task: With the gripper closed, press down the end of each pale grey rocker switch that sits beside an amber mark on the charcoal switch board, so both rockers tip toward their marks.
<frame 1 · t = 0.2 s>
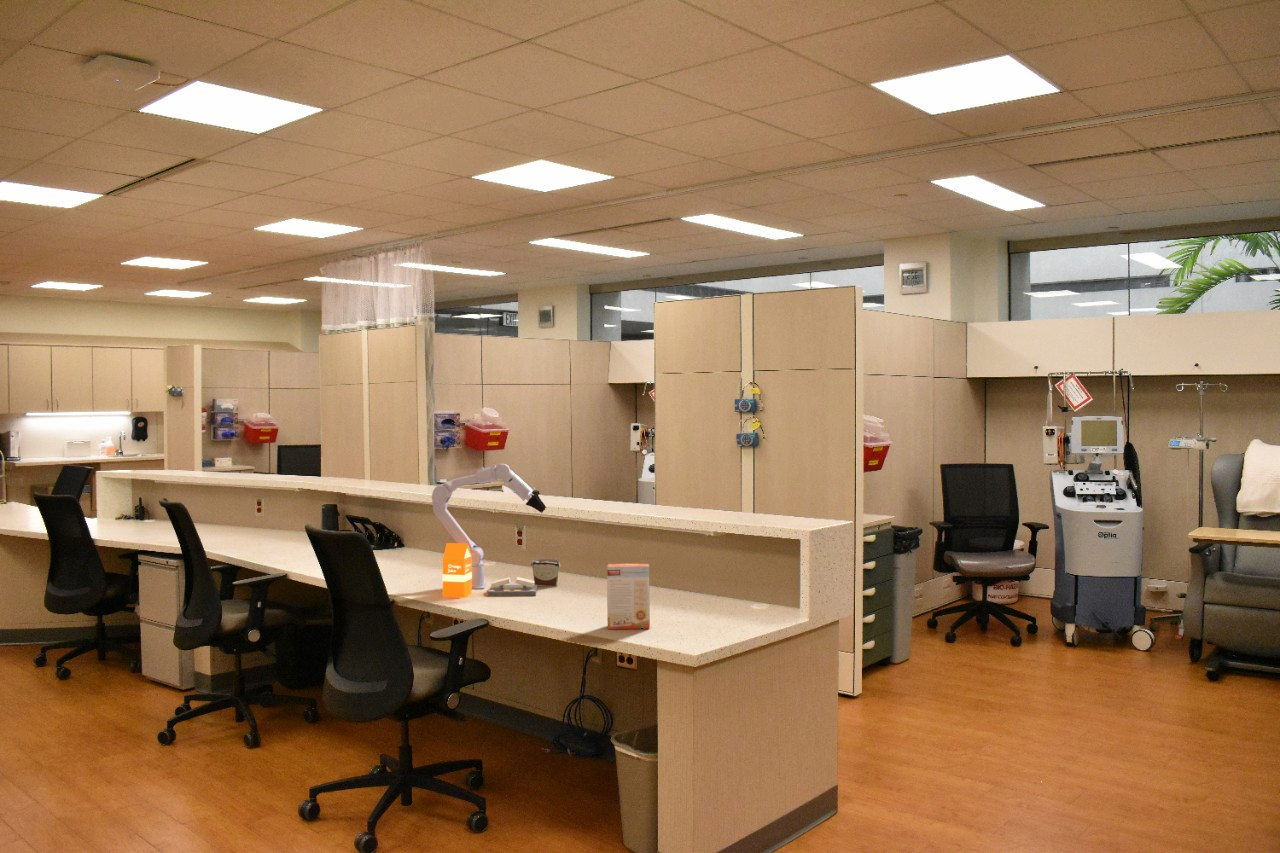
hand: (544, 510, 382), 31 cm above the table, tool tilted 45°, fingers open, 7 cm apart
cracker box: (628, 628, 316), on the table
switch board: (513, 592, 373), on the table
orange juice: (457, 595, 367), on the table
rocker 2: (525, 582, 373), point 4 cm above the table, hinge at 14.0°
rocker 1: (500, 582, 372), point 4 cm above the table, hinge at -14.0°
food container: (547, 585, 388), on the table
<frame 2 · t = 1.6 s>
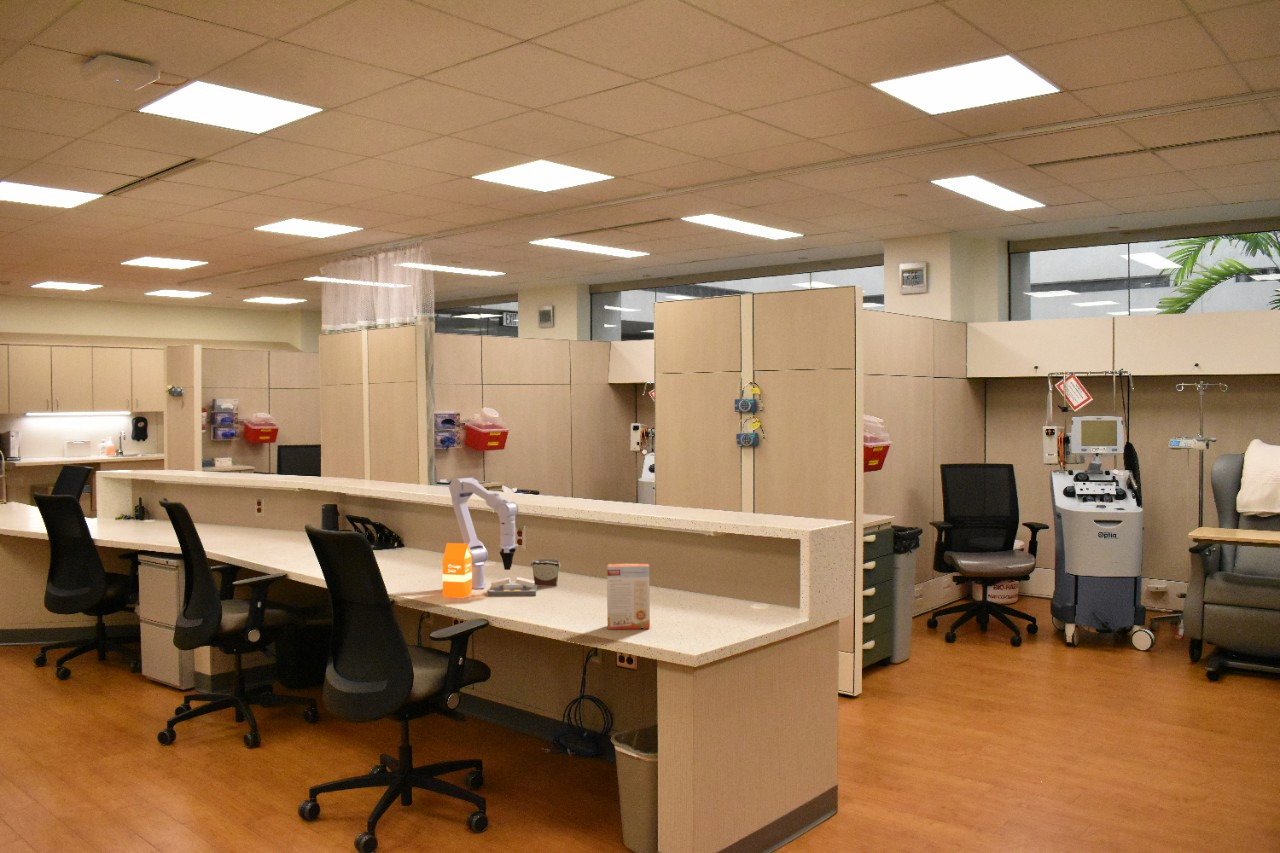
hand: (507, 568, 372), 9 cm above the table, tool pointing down, fingers open, 5 cm apart
nothing on the table moved.
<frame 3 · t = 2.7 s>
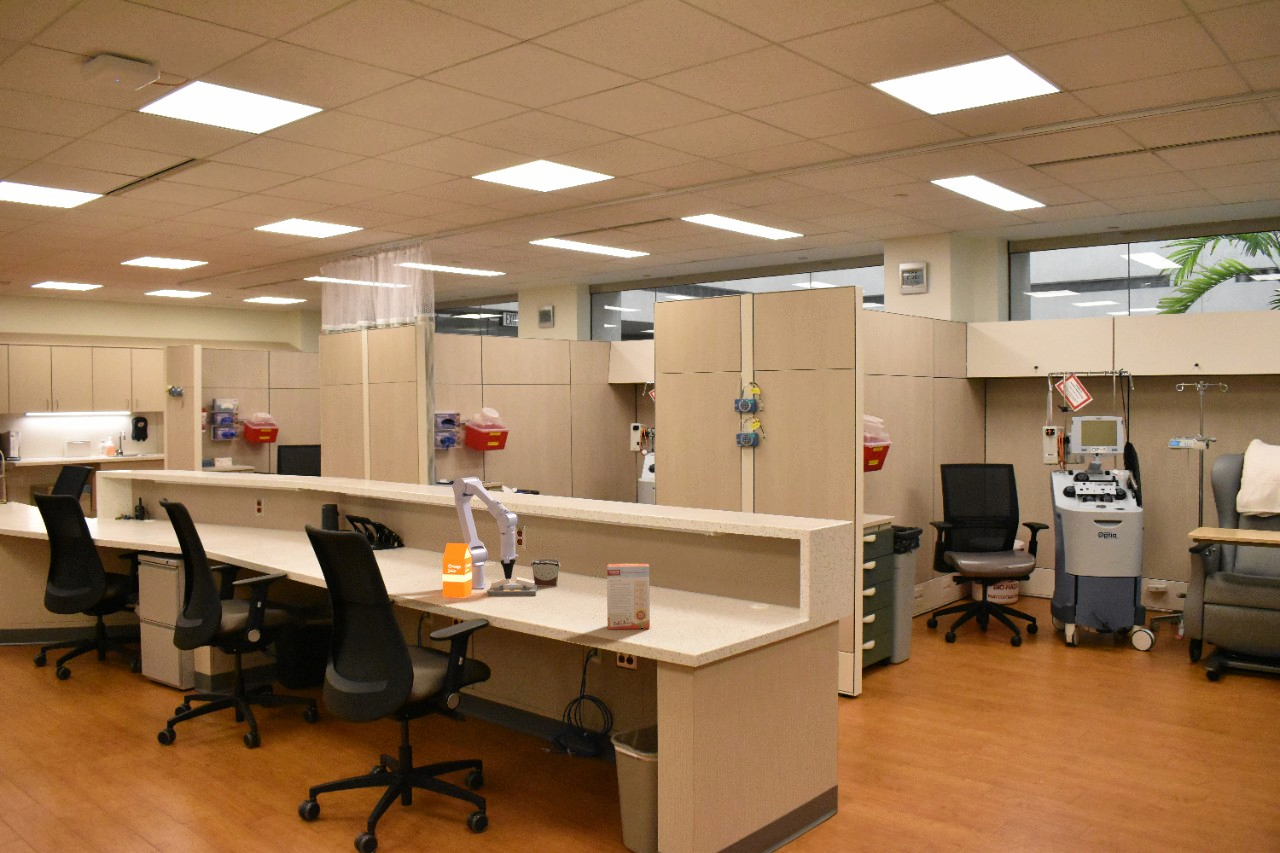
hand: (508, 578, 372), 5 cm above the table, tool pointing down, fingers closed, pressing on rocker 1
rocker 1: (500, 582, 372), point 4 cm above the table, hinge at -13.8°, touching gripper
everything else where it was.
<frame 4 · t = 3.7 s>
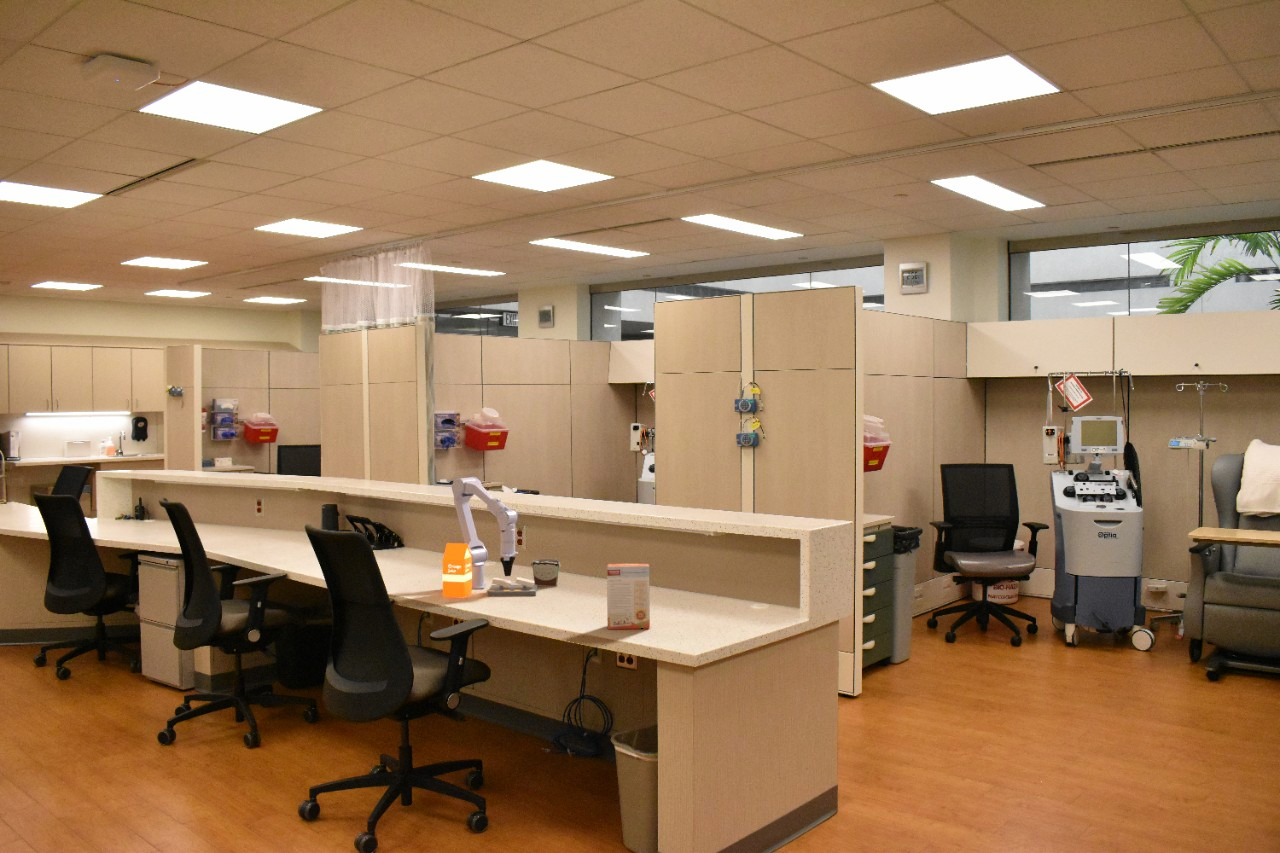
hand: (507, 575, 372), 6 cm above the table, tool pointing down, fingers closed
rocker 1: (501, 582, 372), point 4 cm above the table, hinge at 13.2°
everything else where it was.
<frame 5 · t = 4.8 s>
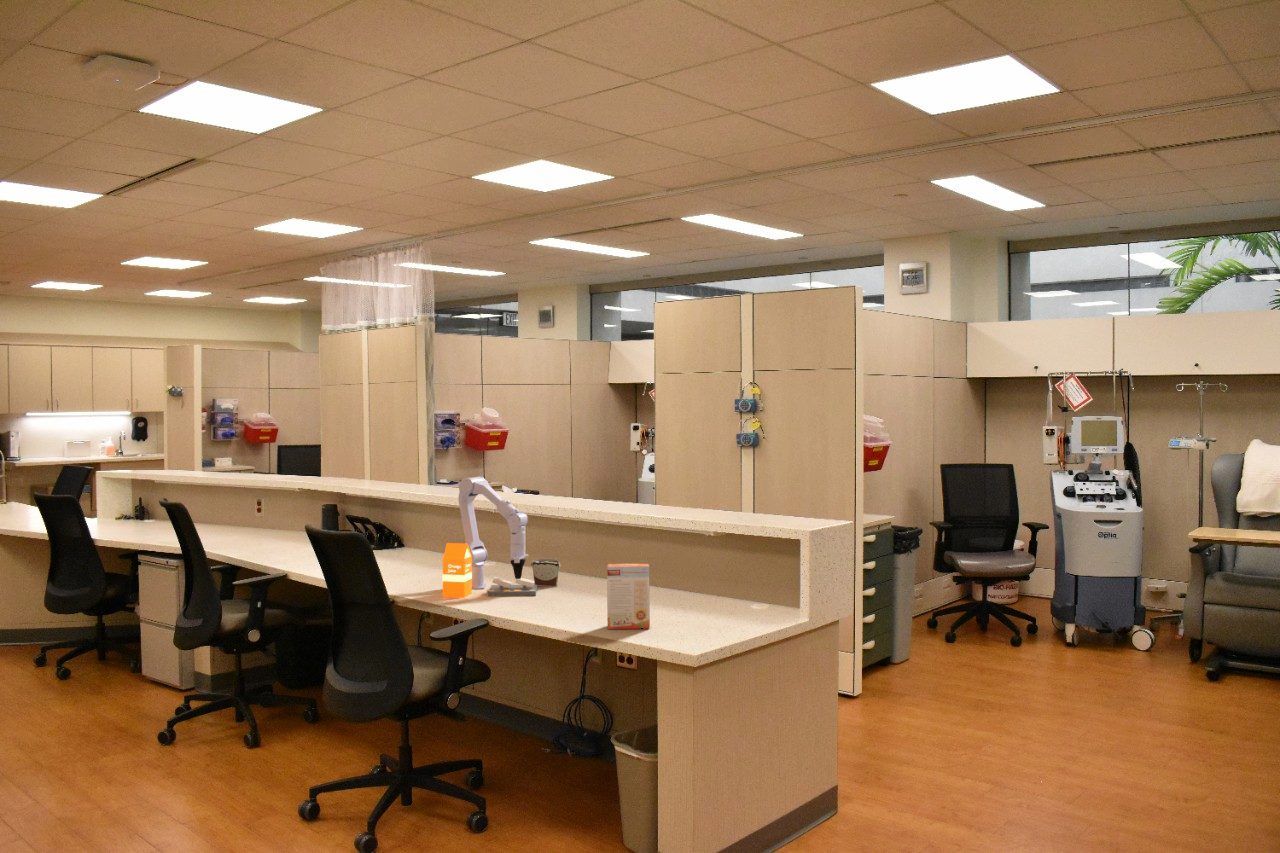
hand: (518, 578, 372), 5 cm above the table, tool pointing down, fingers closed, pressing on rocker 2
rocker 2: (525, 582, 373), point 4 cm above the table, hinge at 13.9°, touching gripper
rocker 1: (502, 582, 372), point 4 cm above the table, hinge at 19.4°
everything else where it was.
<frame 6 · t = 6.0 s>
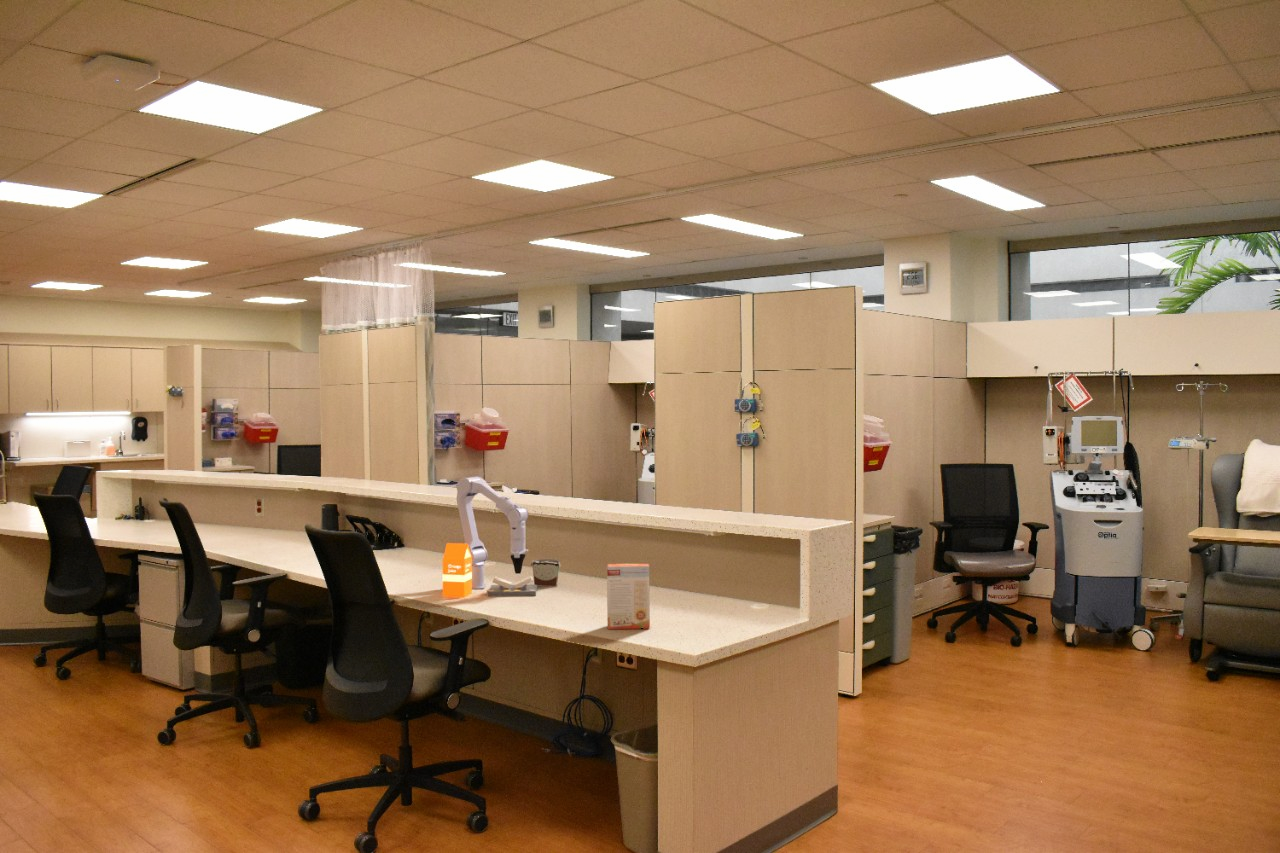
hand: (518, 573, 373), 7 cm above the table, tool pointing down, fingers closed
rocker 2: (523, 582, 373), point 4 cm above the table, hinge at -24.4°
rocker 1: (502, 582, 372), point 4 cm above the table, hinge at 21.0°
everything else where it was.
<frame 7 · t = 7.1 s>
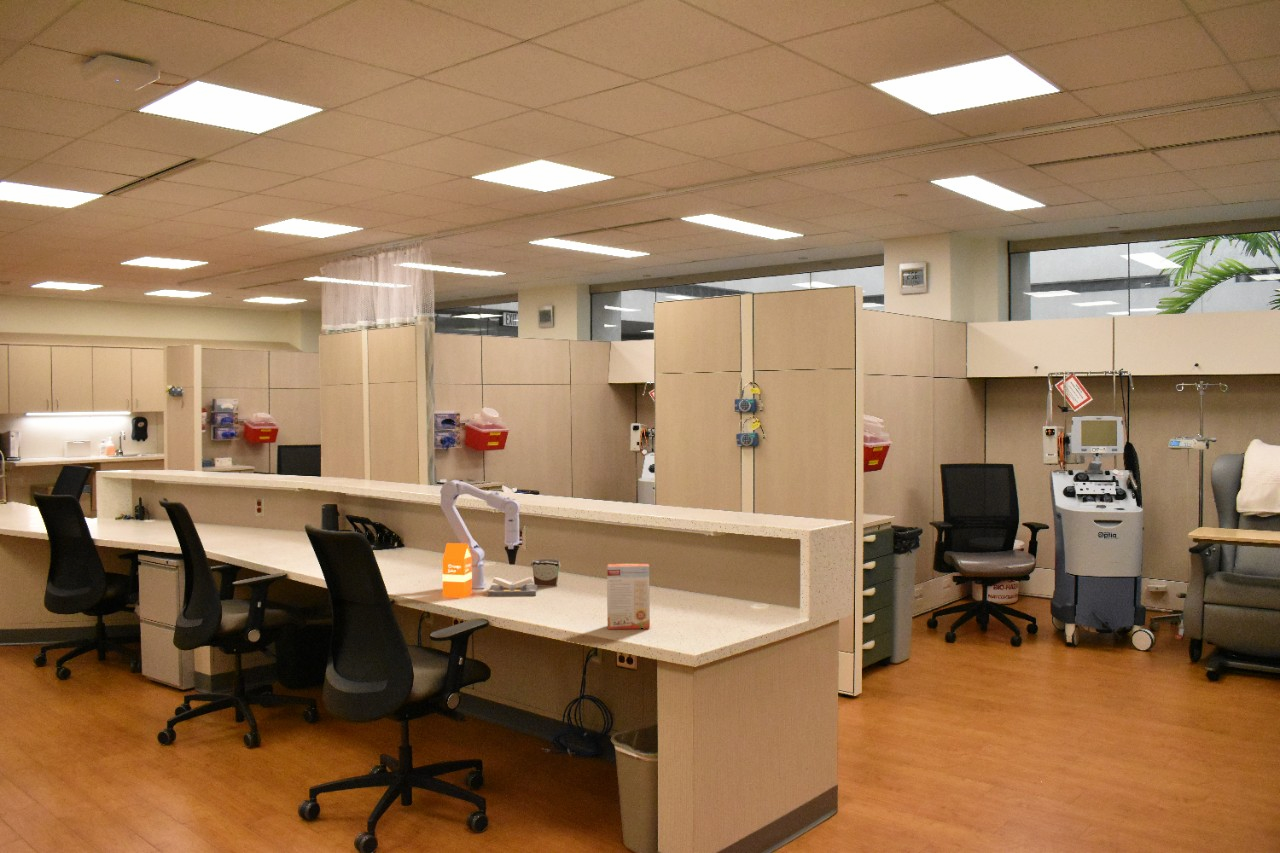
hand: (512, 564, 381), 9 cm above the table, tool pointing down, fingers closed
rocker 2: (524, 582, 373), point 4 cm above the table, hinge at -19.0°
rocker 1: (502, 582, 372), point 4 cm above the table, hinge at 21.3°
everything else where it was.
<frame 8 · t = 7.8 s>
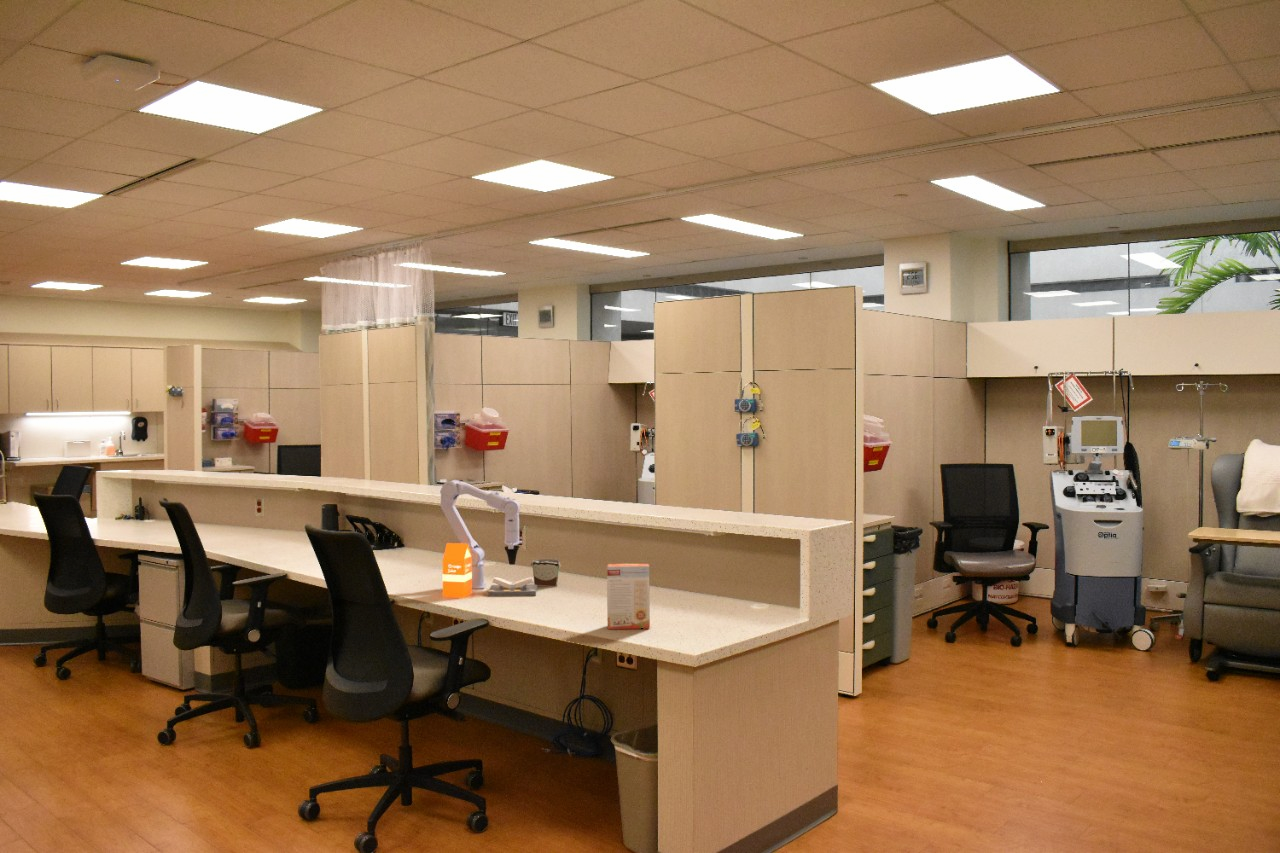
hand: (512, 564, 381), 9 cm above the table, tool pointing down, fingers closed
rocker 2: (524, 582, 373), point 4 cm above the table, hinge at -18.0°
everything else where it was.
at the end: rocker 1 at +21° (first picture: -14°); rocker 2 at -18° (first picture: +14°) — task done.
